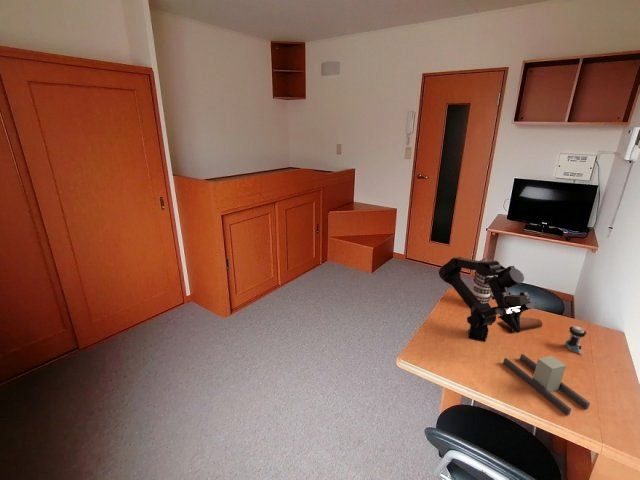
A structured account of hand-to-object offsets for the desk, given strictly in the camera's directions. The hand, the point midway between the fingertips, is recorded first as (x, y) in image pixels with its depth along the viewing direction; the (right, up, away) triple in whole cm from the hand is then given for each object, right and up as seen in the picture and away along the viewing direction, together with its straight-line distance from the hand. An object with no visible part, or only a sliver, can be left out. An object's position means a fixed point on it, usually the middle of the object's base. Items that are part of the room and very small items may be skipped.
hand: (518, 332), depth 117 cm
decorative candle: (+7, 0, +44) cm, 45 cm away
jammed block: (+4, -16, -8) cm, 18 cm away
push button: (+30, -11, +13) cm, 34 cm away
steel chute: (+4, -17, -8) cm, 19 cm away
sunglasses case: (+18, -6, +29) cm, 34 cm away
